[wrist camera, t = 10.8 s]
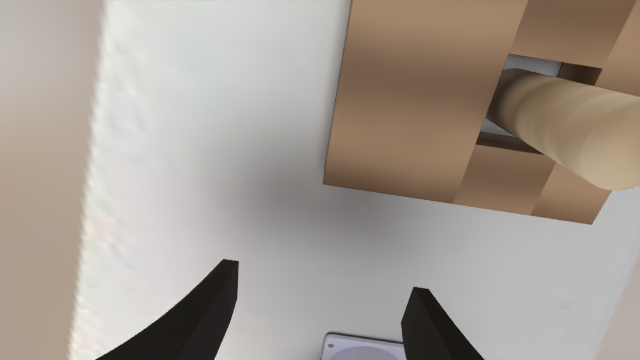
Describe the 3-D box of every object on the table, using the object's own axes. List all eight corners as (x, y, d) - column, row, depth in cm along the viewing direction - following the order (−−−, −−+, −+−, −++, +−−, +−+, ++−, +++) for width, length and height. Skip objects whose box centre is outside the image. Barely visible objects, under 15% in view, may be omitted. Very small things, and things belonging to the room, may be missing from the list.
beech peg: (522, 126, 20) (650, 196, 12) (471, 119, 20) (564, 183, 12) (545, 73, 19) (708, 109, 10) (490, 64, 18) (611, 94, 10)
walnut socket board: (560, 199, 22) (591, 224, 19) (324, 164, 22) (323, 184, 19) (667, -3, 17) (730, -8, 14) (359, -52, 16) (364, -68, 14)
